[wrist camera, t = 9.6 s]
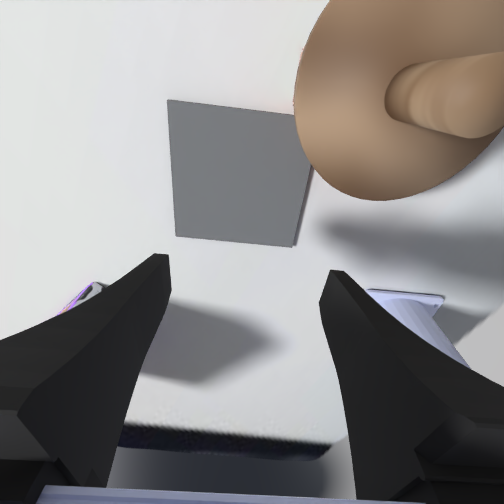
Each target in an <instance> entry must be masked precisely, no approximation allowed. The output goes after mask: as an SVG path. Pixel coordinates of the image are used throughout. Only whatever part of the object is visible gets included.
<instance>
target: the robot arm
mask: <svg viewBox="0 0 504 504" xmlns="http://www.w3.org/2000/svg"><path fill="white" fill-rule="evenodd" d="M171 291H172V289H171V277H170V265H169V255H167V254H156V253H154V254H153V255H151V256H150V257H149V258H147V259H146V260H145V261H143V262H142V263H141V264H140V265H138V266H137V267H136V268H134V269H133V270H131V271H130V272H129V273H127V274H126V275H125V276H123V277H122V278H120V279H119V280H118V281H116V282H115V283H113V284H111V285H110V286H108V287H107V288H105V289H104V290H102V291H101V292H99V293H98V294H96V295H95V296H93V297H91V298H89V299H88V300H86V301H84V302H82V303H81V304H79V305H77V306H75V307H73V308H71V309H70V310H68V311H66V312H64V313H61V314H59V315H57V316H55V317H53V318H51V319H49V320H47V321H45V322H43V323H40V324H38V325H36V326H34V327H31V328H29V329H27V330H24V331H22V332H20V333H17V334H15V335H12V336H10V337H7V338H5V339H2V340H0V504H504V387H503V386H501V385H499V384H497V383H495V382H493V381H491V380H489V379H487V378H486V377H484V376H482V375H480V374H479V373H477V372H475V371H473V370H471V369H470V367H469V366H468V364H467V363H466V362H465V360H464V359H463V358H462V356H461V355H460V354H459V352H458V351H457V350H456V349H455V347H454V346H453V345H452V343H451V342H450V341H449V339H448V338H447V337H446V335H445V334H444V333H443V331H442V330H441V329H440V328H439V326H438V325H437V324H436V322H435V321H434V320H433V318H432V317H433V316H434V315H435V313H436V312H437V310H438V309H439V307H440V306H441V305H442V303H443V301H444V299H443V298H442V297H441V296H434V295H423V294H412V293H401V292H390V291H379V290H366V291H365V290H364V289H363V288H361V287H360V286H359V285H358V284H357V283H356V282H355V281H354V280H353V279H352V278H351V277H350V276H349V275H348V274H347V273H345V272H344V271H339V270H330V272H329V275H328V278H327V281H326V284H325V286H324V289H323V292H322V295H321V298H320V301H319V307H320V314H321V320H322V325H323V328H324V332H325V335H326V338H327V342H328V345H329V348H330V351H331V355H332V358H333V361H334V365H335V368H336V372H337V375H338V379H339V384H340V389H341V394H342V400H343V405H344V411H345V417H346V422H347V428H348V435H349V442H350V449H351V456H352V463H353V472H354V480H355V488H356V498H357V500H350V499H349V500H348V499H329V498H308V497H286V496H266V495H245V494H223V493H202V492H181V491H160V490H139V489H118V488H117V489H116V488H106V486H107V482H108V478H109V474H110V471H111V467H112V463H113V460H114V456H115V452H116V448H117V445H118V441H119V438H120V434H121V431H122V427H123V424H124V420H125V417H126V413H127V410H128V407H129V404H130V400H131V397H132V394H133V391H134V388H135V385H136V382H137V378H138V375H139V372H140V369H141V366H142V364H143V361H144V359H145V356H146V354H147V351H148V349H149V347H150V345H151V343H152V340H153V338H154V336H155V334H156V331H157V329H158V327H159V325H160V322H161V320H162V318H163V315H164V313H165V311H166V308H167V304H168V301H169V298H170V294H171Z"/></svg>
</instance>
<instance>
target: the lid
mask: <svg viewBox="0 0 504 504" xmlns="http://www.w3.org/2000/svg"><path fill="white" fill-rule="evenodd" d="M294 118H295V124H296V130H297V134H298V137H299V141H300V144H301V146H302V148H303V151H304V153H305V155H306V157H307V158H308V160H309V161H310V163H311V165H312V166H313V167H314V169H315V170H316V171H317V172H318V174H319V175H320V176H321V177H322V178H323V179H324V180H325V181H326V182H327V183H329V184H330V185H331V186H332V187H334V188H336V189H337V190H339V191H340V192H343V193H345V194H347V195H350V196H352V197H356V198H360V199H365V200H373V201H387V200H395V199H401V198H405V197H409V196H413V195H416V194H418V193H421V192H424V191H426V190H428V189H431V188H433V187H435V186H437V185H439V184H440V183H442V182H444V181H446V180H447V179H449V178H451V177H452V176H454V175H455V174H456V173H458V172H459V171H461V170H462V169H463V168H465V167H466V166H467V165H468V164H469V163H471V162H472V161H473V160H474V159H475V158H476V157H477V156H478V155H479V154H480V153H481V152H482V151H483V150H484V149H485V148H486V147H487V146H488V145H489V144H490V143H491V142H492V141H493V140H494V138H495V137H496V136H497V135H498V134H499V132H500V131H501V130H502V128H503V127H504V0H330V1H329V2H328V4H327V5H326V7H325V8H324V10H323V11H322V13H321V14H320V16H319V18H318V20H317V22H316V24H315V25H314V27H313V29H312V31H311V33H310V35H309V38H308V40H307V43H306V45H305V48H304V50H303V53H302V57H301V60H300V63H299V67H298V71H297V77H296V82H295V91H294Z"/></svg>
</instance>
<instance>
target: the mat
mask: <svg viewBox="0 0 504 504" xmlns="http://www.w3.org/2000/svg"><path fill="white" fill-rule="evenodd" d="M167 109H168V124H169V140H170V155H171V171H172V186H173V202H174V218H175V233H176V236H177V237H188V238H198V239H208V240H219V241H229V242H239V243H250V244H260V245H270V246H281V247H291V248H292V246H293V242H294V237H295V233H296V229H297V224H298V220H299V215H300V211H301V207H302V202H303V198H304V194H305V189H306V185H307V180H308V176H309V172H310V167H311V163H310V161H309V160H308V158H307V157H306V155H305V153H304V151H303V148H302V146H301V144H300V141H299V137H298V134H297V130H296V124H295V118H294V115H290V114H282V113H274V112H266V111H257V110H249V109H241V108H233V107H225V106H217V105H209V104H201V103H193V102H184V101H176V100H167Z"/></svg>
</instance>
